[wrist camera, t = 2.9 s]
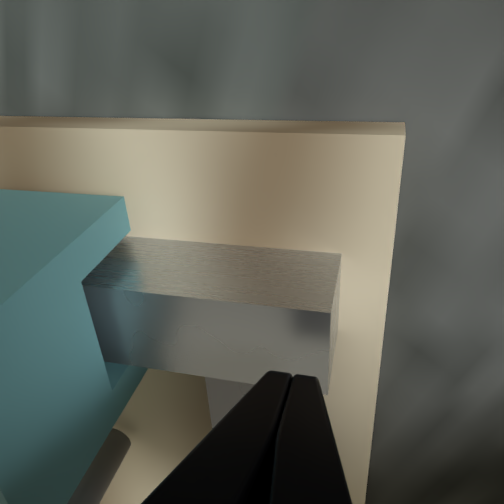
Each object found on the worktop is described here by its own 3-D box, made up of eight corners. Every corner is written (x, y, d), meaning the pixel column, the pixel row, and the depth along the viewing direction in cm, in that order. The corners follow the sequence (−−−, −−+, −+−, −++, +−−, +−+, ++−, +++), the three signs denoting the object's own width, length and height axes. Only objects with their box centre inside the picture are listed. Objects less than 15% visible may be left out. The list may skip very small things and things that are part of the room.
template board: (404, 122, 9) (405, 136, 8) (358, 552, 17) (356, 578, 16) (-298, 111, 14) (-335, 119, 13) (-81, 453, 21) (-97, 470, 21)
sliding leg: (124, 196, 10) (-67, 363, 6) (178, 461, 14) (92, 662, 10) (-35, 187, 11) (-294, 326, 7) (62, 438, 15) (-60, 614, 11)
